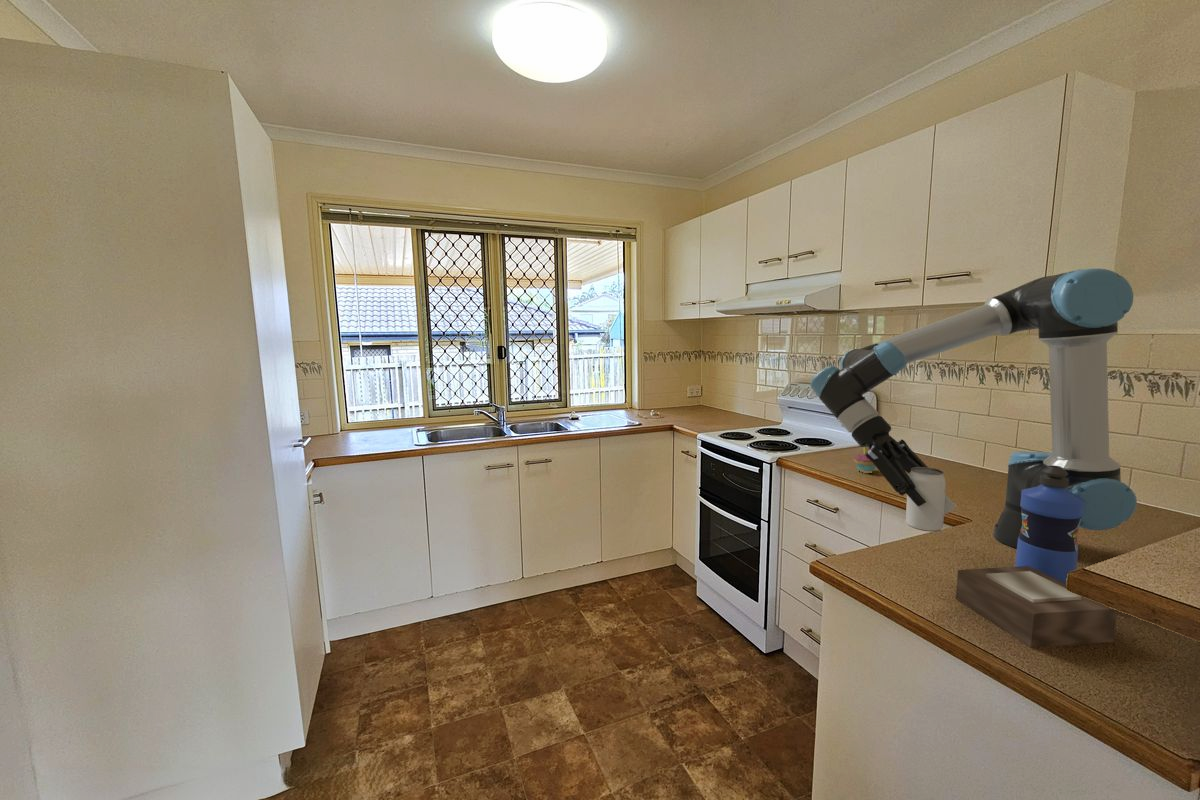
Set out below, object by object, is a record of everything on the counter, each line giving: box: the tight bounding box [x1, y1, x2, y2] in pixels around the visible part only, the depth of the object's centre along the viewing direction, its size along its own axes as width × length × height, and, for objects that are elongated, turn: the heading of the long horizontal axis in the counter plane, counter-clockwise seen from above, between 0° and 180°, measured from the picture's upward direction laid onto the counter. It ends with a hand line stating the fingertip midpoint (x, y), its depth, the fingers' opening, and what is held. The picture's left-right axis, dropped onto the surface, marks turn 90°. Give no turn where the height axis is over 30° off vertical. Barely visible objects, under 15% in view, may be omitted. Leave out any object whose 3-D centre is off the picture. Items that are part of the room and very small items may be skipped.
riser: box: [955, 566, 1118, 649], centre depth 85 cm, size 15×15×7 cm
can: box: [905, 466, 947, 533], centre depth 98 cm, size 6×6×12 cm
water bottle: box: [1014, 466, 1085, 583], centre depth 96 cm, size 9×9×25 cm
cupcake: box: [853, 447, 876, 472], centre depth 180 cm, size 9×8×12 cm
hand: (944, 514), depth 95 cm, fingers closed on can, 6 cm apart
